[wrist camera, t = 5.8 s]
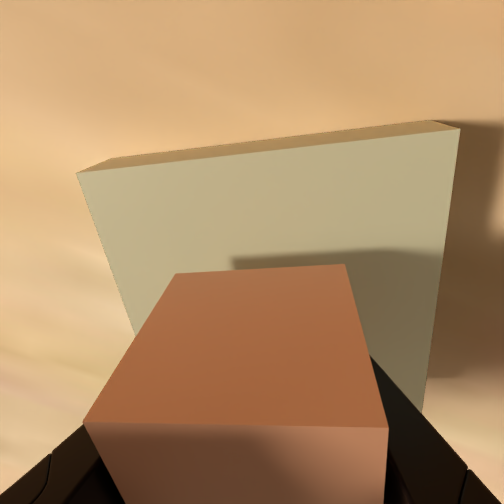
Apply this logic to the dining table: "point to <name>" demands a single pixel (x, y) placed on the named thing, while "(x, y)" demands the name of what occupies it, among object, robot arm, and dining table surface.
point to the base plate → (292, 223)
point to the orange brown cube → (246, 395)
